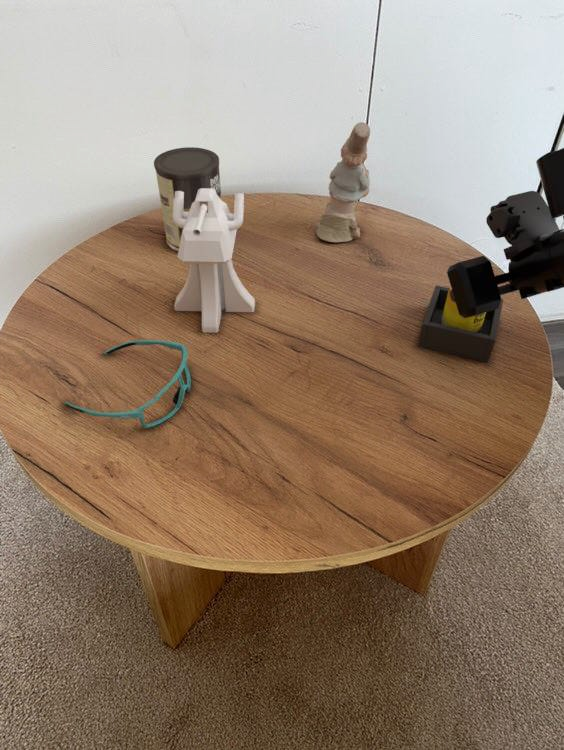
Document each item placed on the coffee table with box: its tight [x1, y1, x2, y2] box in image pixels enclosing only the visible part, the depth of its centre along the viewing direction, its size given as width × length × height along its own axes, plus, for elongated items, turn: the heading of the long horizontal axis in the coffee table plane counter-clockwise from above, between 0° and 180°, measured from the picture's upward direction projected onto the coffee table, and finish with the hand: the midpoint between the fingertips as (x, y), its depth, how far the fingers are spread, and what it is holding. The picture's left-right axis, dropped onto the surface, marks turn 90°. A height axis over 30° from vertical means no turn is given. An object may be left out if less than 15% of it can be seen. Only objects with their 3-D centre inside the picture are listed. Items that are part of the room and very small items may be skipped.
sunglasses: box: [64, 339, 192, 429], centre depth 74 cm, size 14×15×5 cm
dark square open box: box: [417, 284, 504, 363], centre depth 82 cm, size 10×10×4 cm
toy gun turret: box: [173, 188, 256, 334], centre depth 81 cm, size 12×13×18 cm
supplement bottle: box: [441, 284, 486, 333], centre depth 79 cm, size 6×6×10 cm
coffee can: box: [153, 146, 222, 253], centre depth 97 cm, size 10×10×14 cm
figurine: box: [314, 122, 371, 243], centre depth 96 cm, size 9×8×20 cm
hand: (480, 287), depth 76 cm, fingers open, 9 cm apart
